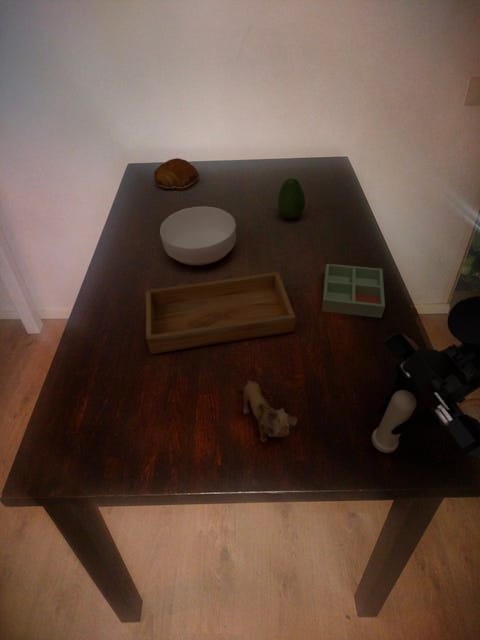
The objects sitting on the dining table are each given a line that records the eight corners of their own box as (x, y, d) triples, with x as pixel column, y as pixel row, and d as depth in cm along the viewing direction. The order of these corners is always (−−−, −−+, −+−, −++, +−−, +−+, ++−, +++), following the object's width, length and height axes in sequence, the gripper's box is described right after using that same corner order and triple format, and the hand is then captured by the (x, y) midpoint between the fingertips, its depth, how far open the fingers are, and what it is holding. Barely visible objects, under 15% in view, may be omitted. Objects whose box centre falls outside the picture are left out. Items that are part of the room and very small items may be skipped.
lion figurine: (298, 442, 66) (302, 415, 59) (274, 459, 64) (275, 434, 57) (248, 384, 74) (247, 355, 68) (226, 398, 72) (222, 370, 66)
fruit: (309, 220, 113) (313, 181, 105) (285, 227, 111) (287, 188, 103) (295, 207, 118) (297, 170, 110) (272, 214, 116) (273, 176, 108)
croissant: (150, 190, 135) (142, 169, 129) (181, 167, 141) (174, 147, 135) (178, 201, 128) (171, 179, 122) (209, 177, 134) (204, 155, 128)
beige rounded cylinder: (396, 431, 62) (420, 385, 53) (398, 454, 60) (424, 410, 50) (371, 427, 63) (390, 381, 53) (371, 450, 61) (392, 405, 51)
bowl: (238, 231, 111) (236, 204, 105) (236, 274, 97) (234, 247, 91) (171, 233, 112) (165, 207, 106) (160, 276, 98) (153, 249, 92)
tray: (277, 288, 93) (278, 270, 89) (294, 333, 83) (295, 315, 79) (151, 307, 91) (145, 289, 86) (151, 356, 80) (145, 339, 76)
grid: (379, 280, 94) (382, 268, 91) (381, 318, 85) (385, 306, 82) (324, 274, 96) (326, 263, 93) (321, 311, 87) (323, 299, 85)
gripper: (412, 290, 52) (327, 361, 58) (519, 406, 39) (396, 481, 45) (444, 317, 59) (365, 378, 65) (543, 423, 46) (433, 485, 52)
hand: (386, 422), depth 57 cm, fingers closed on beige rounded cylinder, 3 cm apart
